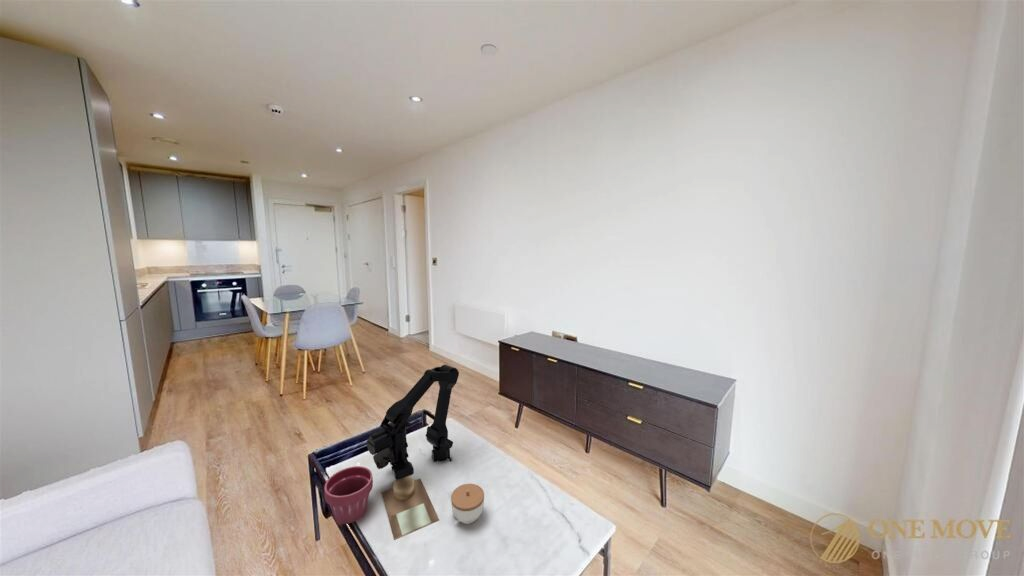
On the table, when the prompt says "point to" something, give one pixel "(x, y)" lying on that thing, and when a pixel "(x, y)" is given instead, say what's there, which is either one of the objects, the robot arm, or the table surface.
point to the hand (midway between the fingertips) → (400, 479)
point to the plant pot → (349, 493)
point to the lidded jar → (467, 502)
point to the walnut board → (409, 511)
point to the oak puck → (403, 488)
